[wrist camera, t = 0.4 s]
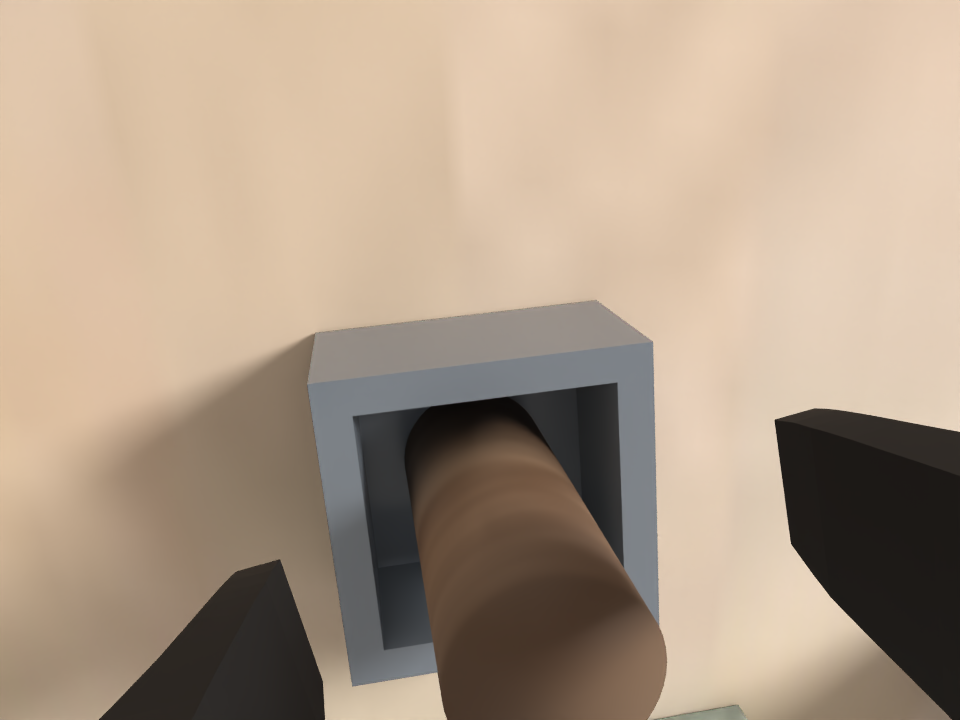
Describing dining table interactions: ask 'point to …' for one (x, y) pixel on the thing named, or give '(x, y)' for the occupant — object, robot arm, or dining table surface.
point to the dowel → (522, 577)
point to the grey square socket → (461, 378)
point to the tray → (713, 714)
